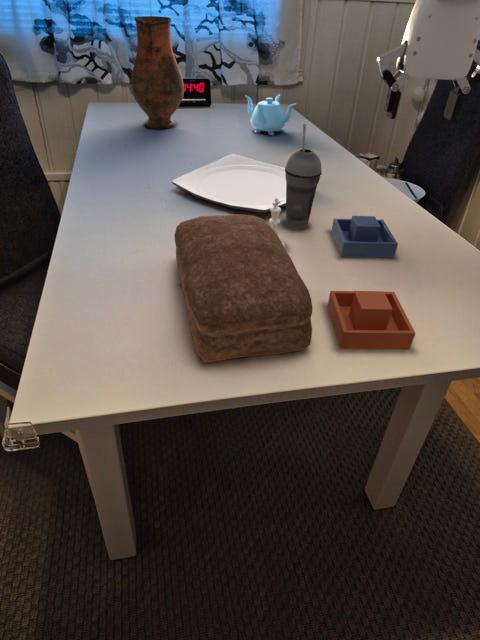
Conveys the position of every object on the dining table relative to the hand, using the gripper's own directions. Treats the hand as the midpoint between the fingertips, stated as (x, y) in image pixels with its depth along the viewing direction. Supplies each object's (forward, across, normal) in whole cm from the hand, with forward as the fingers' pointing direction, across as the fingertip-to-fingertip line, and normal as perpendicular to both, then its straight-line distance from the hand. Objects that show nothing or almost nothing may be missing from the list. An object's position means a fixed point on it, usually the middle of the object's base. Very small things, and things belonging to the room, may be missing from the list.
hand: (419, 118), depth 72 cm
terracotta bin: (+24, +10, +24) cm, 35 cm away
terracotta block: (+24, +10, +24) cm, 35 cm away
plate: (+24, +26, -29) cm, 46 cm away
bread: (+24, +30, +18) cm, 42 cm away
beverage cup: (+24, +16, -10) cm, 31 cm away
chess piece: (+24, +22, 0) cm, 33 cm away
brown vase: (+24, +53, -85) cm, 103 cm away
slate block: (+24, +4, -2) cm, 24 cm away
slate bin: (+24, +4, -2) cm, 25 cm away
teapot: (+24, +17, -79) cm, 84 cm away
